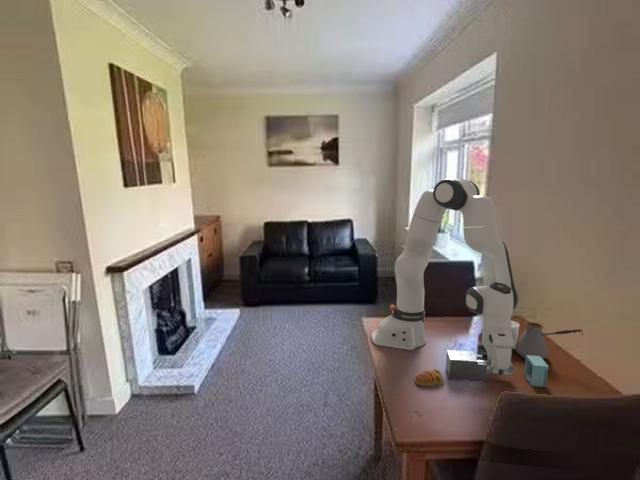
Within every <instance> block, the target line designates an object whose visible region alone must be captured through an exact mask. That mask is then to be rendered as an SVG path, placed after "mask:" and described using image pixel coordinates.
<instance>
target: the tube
mask: <svg viewBox="0 0 640 480" xmlns="http://www.w3.org/2000/svg"><path fill="white" fill-rule="evenodd" d="M478 363H486V364H487V373H486V374H488V373H490V374H491V373H492V374H494V373H493V371H492V366H493V365H494V364H493V361H488V360H483V359H482V360H478ZM513 373H514V366H513V363H512V361H510V366H509V368H508V369H507V370H501V369H499V373H497V375H498V376H503V375H513Z"/></svg>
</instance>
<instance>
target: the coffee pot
mask: <svg viewBox="0 0 640 480" xmlns="http://www.w3.org/2000/svg"><path fill="white" fill-rule="evenodd" d="M524 326H525V330H524V331H523V333H522V335H521V336H520V337H519V339H517V342H516V345H515V349H514V350H515V351H516V353H517V354H518V355H519V356H520V357H521V358H523V359H525V360H526V355H531V356H540V357H541V358H542V359H543V360H544V359H546V358H547V357H548V355H549V350H548V347H547V344H546V340H545V338H544V336H552V335H565V334H571V333H574V334H575V333H577V332H578V333H581V335H582V336H584V332H583V330H582V329H579V328H578V329H572V330H571V329H565V330H559V331H554V332H552V331H551V332H542V331H543V329H544V328H545V327H544V325H543V324H541V323H539V322H532V321H527V322H525V323H524Z"/></svg>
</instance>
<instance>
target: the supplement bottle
mask: <svg viewBox="0 0 640 480" xmlns="http://www.w3.org/2000/svg"><path fill="white" fill-rule="evenodd" d="M476 350H477V351H476V355H482V356H483V358H482V360H488V357H487V351H486V349H485V348H484V346H483V344H482V329H481V332H480V333H478V337H477V349H476Z"/></svg>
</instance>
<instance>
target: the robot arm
mask: <svg viewBox="0 0 640 480" xmlns="http://www.w3.org/2000/svg"><path fill="white" fill-rule="evenodd" d="M447 210H452V211H456V212H457V211H459V212H460V213H461V214H462V217H463V239H464V241H465V244H466V245H467V246H468V247H469V248H470V249H471V250H473V251H475V252H476V253H480V254H483V255H485V256H487V257H488V258H489V259H490V260H491V261H492V264H493V268H494V275H495V280H496V281H495V282H494V281H493V282H489V283H488V284H487V285H480V286H472V287H469V288H468V290H466V293H465V298H464V302H465V306H466V307H467V309H468V310H469V311H470V312H472V313H474V314H476V315H480V316H482V317H483V320H482V327H481V330H482V332H481V333H482V344H483V346H484V348H485V349H486V351H487V357H488V361H493V364H494V365H493V366H492V371H493V373H492V374H497V373H499V369H501V370H507V369H508V368H509V366H510V362H511V359H512V351H513V350H512V349H511V347H513V346H514V340H513V337H512V334H511V321H512V320H511V319H512V316H513V312H514V310H515V308H517V306H518V303H519V295H518V291H517V290H516V287H515V283H514V277H513V272H512V268H511V260H510V256H509V251H508V248H507V245H506V243H505V242H504V241H502V240H501V237H500V236H499V232H498V221H497V211H496V206H495V203H494V201H493V199H492V198H491V197H489V196H486V195H482V194H481V195H480V189H479V187H478V185H477V184H476V183H475V182H473V181H471V180H468V179H464V178H452V177H451V178H449V177H448V178H444V179H442V180H440V181H438V182H437V183H436V185H435V186H434V188H433V189H427V190H424V192H423V193H422V194H421V196H420V198H419V200H418V201H417V204H416V207H415V209H414V212H413V214H412V217H411V220H410V222H409V223H410V224H409V227H408V230H407V232H406V233H407V235H406V240H405V244H404V248H403V251H402V252H401V254H400V255H399V256H398V257H397V258H396V260H395V263H394V273H395V282H396V306H395V305H394V304H391V305H389V309H390V312H391V314H390V315H388V316H386V317H385V318H383V319H381V320H380V321H379V324H378V325H377V329H375V330H374V331H372V334H371V341H372V342H373V343H374V345H376V346H381V347H388V348H393V349H394V348H395V349H401V350H408V351H412V350H415V349H416V348H420V347H423V346H424V345H426V343H427V340H426V336H425V326H424V323H425V318H426V317H425V316H426V310H425V293H426V292H425V284H424V283H425V282H424V281H425V280H424V275H425V270H426V268H427V266H428V265H429V261H430V257H431V255H432V252H433V248H434V246H435V241H436V238H437V235H438V233H439V230H440V227H441V223H442V222H443V221H442V220H443V217H444V215H445V212H447ZM497 375H498V374H497Z"/></svg>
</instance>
